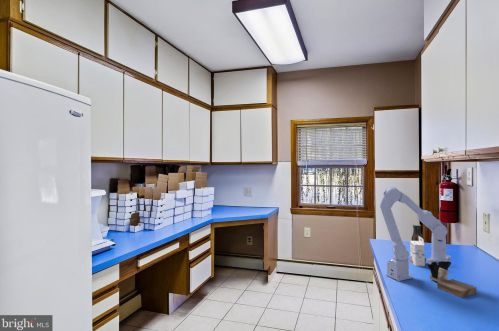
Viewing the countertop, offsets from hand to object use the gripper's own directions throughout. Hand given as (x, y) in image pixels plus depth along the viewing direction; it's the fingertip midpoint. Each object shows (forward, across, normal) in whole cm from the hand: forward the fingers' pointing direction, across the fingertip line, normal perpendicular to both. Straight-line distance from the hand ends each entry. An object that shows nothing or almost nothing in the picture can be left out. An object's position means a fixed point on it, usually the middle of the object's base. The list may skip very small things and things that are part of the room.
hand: (438, 276), depth 137 cm
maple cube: (+1, 0, 0) cm, 1 cm away
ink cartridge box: (+2, +12, +21) cm, 24 cm away
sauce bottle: (+2, +20, +27) cm, 34 cm away
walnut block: (+2, -3, -10) cm, 11 cm away
